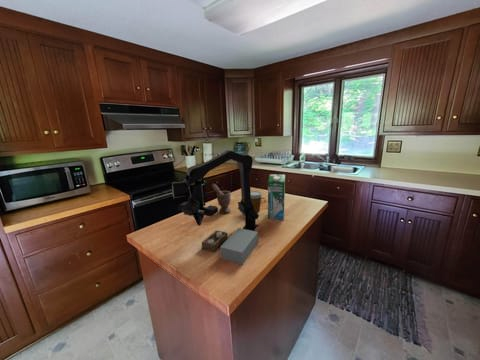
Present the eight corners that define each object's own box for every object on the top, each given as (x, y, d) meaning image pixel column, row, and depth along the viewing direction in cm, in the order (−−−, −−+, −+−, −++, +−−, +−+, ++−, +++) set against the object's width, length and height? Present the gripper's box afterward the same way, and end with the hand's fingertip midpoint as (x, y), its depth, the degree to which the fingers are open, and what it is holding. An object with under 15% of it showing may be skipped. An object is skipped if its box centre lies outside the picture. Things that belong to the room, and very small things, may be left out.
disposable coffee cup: (244, 211, 133) (243, 193, 130) (254, 206, 139) (253, 190, 137) (255, 215, 126) (255, 196, 123) (265, 210, 133) (265, 192, 130)
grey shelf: (238, 238, 101) (238, 228, 99) (258, 242, 96) (257, 231, 95) (220, 258, 85) (220, 247, 84) (242, 264, 81) (242, 252, 80)
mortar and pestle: (220, 217, 125) (219, 185, 120) (211, 213, 130) (209, 183, 125) (234, 211, 133) (232, 181, 128) (224, 208, 139) (223, 179, 134)
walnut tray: (214, 252, 90) (214, 245, 89) (202, 249, 93) (201, 242, 92) (227, 239, 100) (227, 232, 99) (216, 236, 103) (215, 230, 102)
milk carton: (267, 218, 121) (268, 177, 115) (269, 212, 129) (269, 173, 123) (283, 220, 119) (284, 177, 113) (284, 213, 127) (285, 174, 121)
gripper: (168, 197, 91) (172, 229, 95) (203, 202, 83) (206, 237, 87) (184, 190, 101) (187, 219, 105) (217, 194, 93) (219, 225, 97)
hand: (199, 225), depth 98 cm, fingers closed
